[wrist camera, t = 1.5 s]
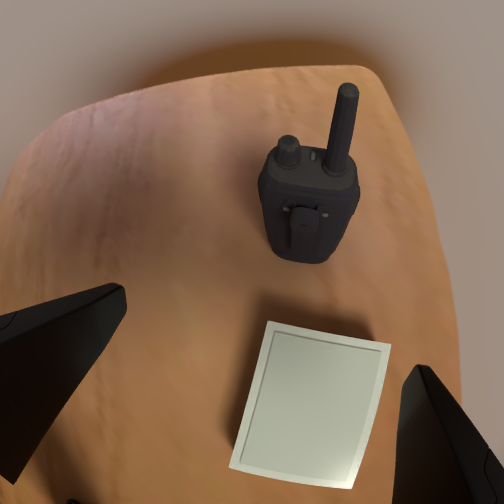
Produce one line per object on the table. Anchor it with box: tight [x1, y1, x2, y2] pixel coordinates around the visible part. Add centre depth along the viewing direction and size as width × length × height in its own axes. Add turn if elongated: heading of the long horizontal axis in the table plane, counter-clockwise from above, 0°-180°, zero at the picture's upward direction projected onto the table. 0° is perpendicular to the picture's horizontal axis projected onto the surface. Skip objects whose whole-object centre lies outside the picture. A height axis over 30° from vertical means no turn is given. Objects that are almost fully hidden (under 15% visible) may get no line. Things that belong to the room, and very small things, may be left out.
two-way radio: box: [258, 83, 360, 264], centre depth 16 cm, size 6×4×15 cm
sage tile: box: [229, 321, 391, 489], centre depth 18 cm, size 8×10×3 cm
